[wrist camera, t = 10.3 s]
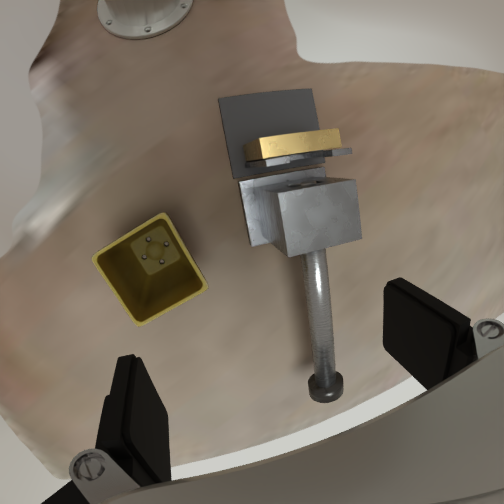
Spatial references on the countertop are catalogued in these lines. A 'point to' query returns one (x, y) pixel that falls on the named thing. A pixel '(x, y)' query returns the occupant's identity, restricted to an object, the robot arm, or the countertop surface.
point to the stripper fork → (297, 157)
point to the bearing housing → (301, 211)
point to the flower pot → (150, 270)
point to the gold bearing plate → (292, 144)
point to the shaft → (320, 324)
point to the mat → (266, 124)
